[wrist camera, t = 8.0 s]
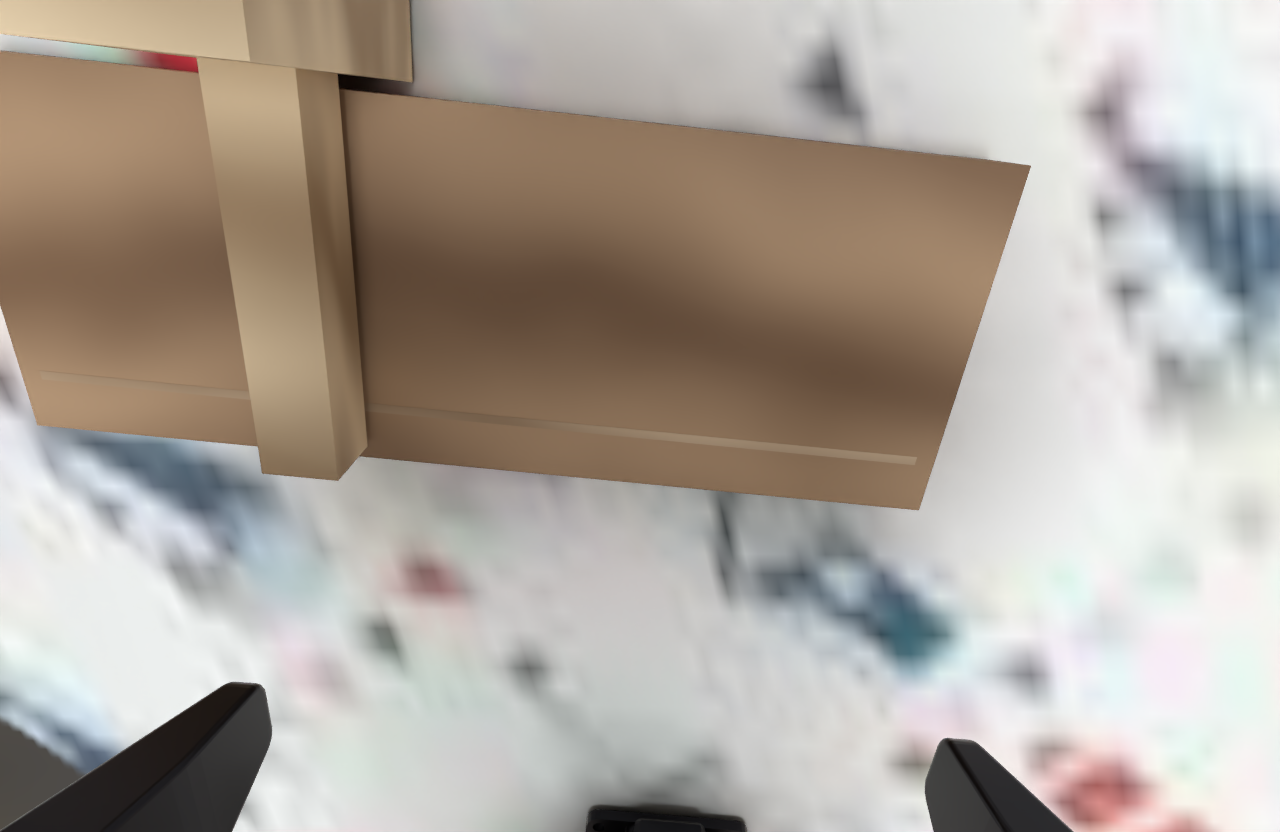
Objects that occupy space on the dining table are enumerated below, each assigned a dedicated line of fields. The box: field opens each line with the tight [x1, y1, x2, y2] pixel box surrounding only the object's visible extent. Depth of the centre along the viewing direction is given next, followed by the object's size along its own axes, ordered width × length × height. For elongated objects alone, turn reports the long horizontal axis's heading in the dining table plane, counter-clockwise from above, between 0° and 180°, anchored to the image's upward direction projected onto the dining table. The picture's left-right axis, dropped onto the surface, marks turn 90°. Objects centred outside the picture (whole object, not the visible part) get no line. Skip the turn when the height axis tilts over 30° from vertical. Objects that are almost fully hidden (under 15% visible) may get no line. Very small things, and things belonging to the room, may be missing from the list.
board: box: [0, 51, 1031, 510], centre depth 17 cm, size 9×24×2 cm, turn 84°
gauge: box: [0, 0, 412, 481], centre depth 13 cm, size 14×4×7 cm, turn 174°
